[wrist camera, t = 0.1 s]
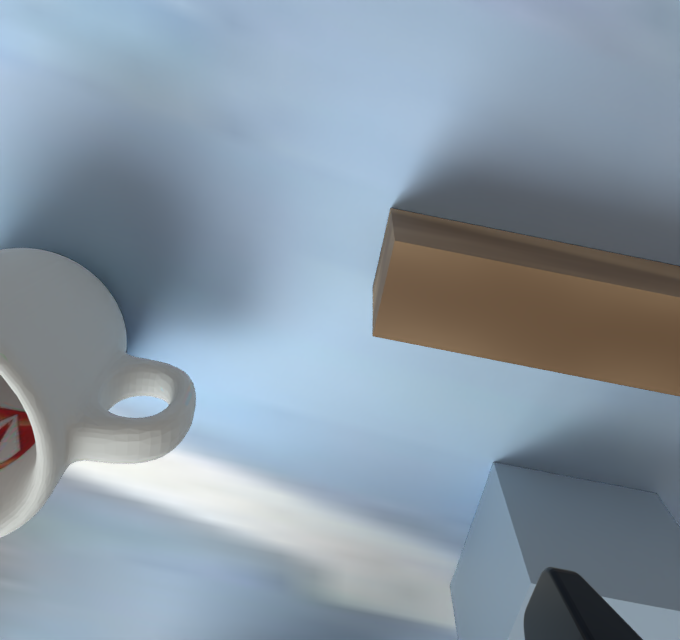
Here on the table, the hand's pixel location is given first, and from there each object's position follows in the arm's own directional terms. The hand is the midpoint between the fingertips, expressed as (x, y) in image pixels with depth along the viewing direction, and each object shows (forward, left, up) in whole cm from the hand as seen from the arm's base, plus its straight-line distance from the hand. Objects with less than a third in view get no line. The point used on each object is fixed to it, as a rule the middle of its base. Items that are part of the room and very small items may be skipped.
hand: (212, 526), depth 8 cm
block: (-11, -12, -15) cm, 22 cm away
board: (0, -12, -15) cm, 19 cm away
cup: (-5, +8, -15) cm, 18 cm away
